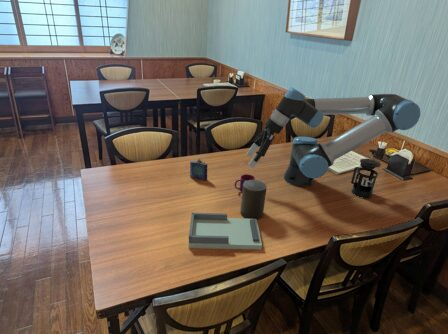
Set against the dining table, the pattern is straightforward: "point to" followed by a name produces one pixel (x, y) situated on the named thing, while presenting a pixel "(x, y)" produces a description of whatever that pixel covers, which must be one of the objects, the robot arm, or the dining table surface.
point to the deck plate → (223, 232)
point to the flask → (198, 170)
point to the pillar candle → (253, 199)
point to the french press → (363, 182)
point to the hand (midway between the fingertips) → (249, 161)
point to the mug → (243, 179)
